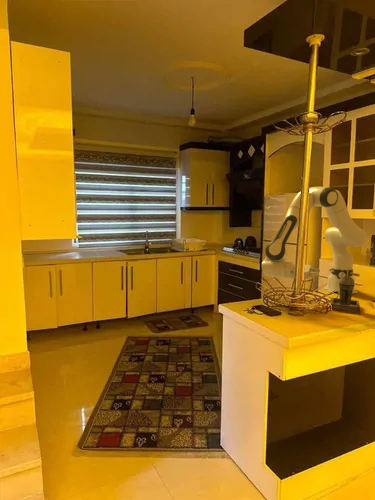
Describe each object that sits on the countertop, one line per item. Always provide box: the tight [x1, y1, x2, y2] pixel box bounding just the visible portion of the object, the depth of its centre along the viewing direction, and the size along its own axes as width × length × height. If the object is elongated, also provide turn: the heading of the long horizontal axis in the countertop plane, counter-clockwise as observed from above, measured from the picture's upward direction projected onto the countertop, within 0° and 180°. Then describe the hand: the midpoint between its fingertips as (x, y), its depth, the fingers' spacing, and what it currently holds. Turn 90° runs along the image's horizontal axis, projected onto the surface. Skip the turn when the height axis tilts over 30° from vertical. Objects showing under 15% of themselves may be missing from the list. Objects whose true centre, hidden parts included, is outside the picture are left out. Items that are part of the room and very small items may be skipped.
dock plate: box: [331, 297, 362, 315], centre depth 179 cm, size 14×14×3 cm
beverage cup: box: [339, 267, 354, 306], centre depth 178 cm, size 7×7×20 cm
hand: (319, 272), depth 184 cm, fingers open, 8 cm apart
